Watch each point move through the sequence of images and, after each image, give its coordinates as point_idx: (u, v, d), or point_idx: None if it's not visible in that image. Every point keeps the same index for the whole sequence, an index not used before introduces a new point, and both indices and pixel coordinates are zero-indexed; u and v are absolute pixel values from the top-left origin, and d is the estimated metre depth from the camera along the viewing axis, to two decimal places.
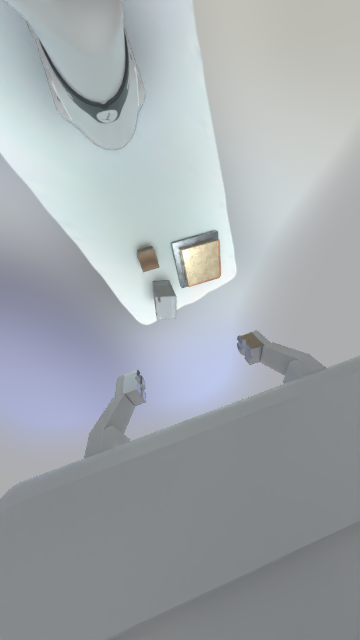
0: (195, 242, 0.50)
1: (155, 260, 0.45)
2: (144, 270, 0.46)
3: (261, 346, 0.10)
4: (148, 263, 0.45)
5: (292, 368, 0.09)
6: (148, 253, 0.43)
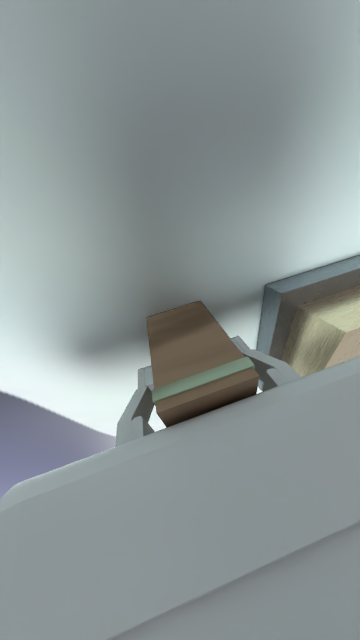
0: (353, 283, 0.14)
1: None
2: None
3: None
4: None
5: (268, 377, 0.09)
6: (222, 392, 0.07)
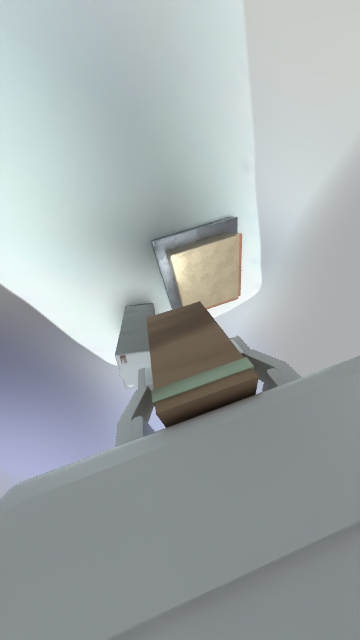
0: (196, 239, 0.27)
1: None
2: None
3: (241, 353, 0.10)
4: None
5: (268, 377, 0.09)
6: (222, 393, 0.07)
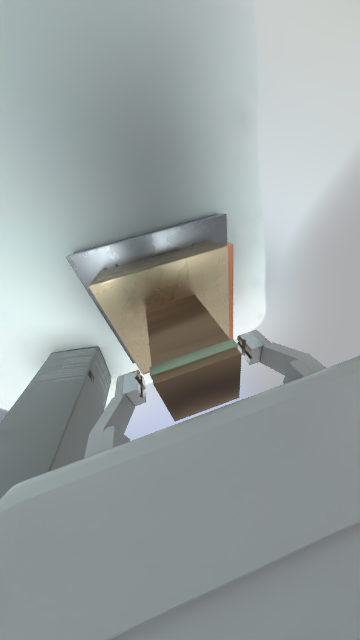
0: (152, 252, 0.15)
1: (233, 383, 0.10)
2: (179, 417, 0.11)
3: (261, 346, 0.10)
4: (200, 397, 0.10)
5: (292, 368, 0.09)
6: (210, 368, 0.08)
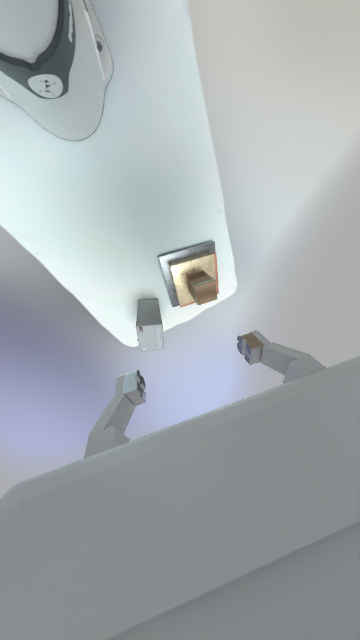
0: (187, 255, 0.42)
1: (214, 291, 0.36)
2: (199, 303, 0.37)
3: (261, 346, 0.10)
4: (206, 295, 0.36)
5: (292, 368, 0.09)
6: (208, 284, 0.35)
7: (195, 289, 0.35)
